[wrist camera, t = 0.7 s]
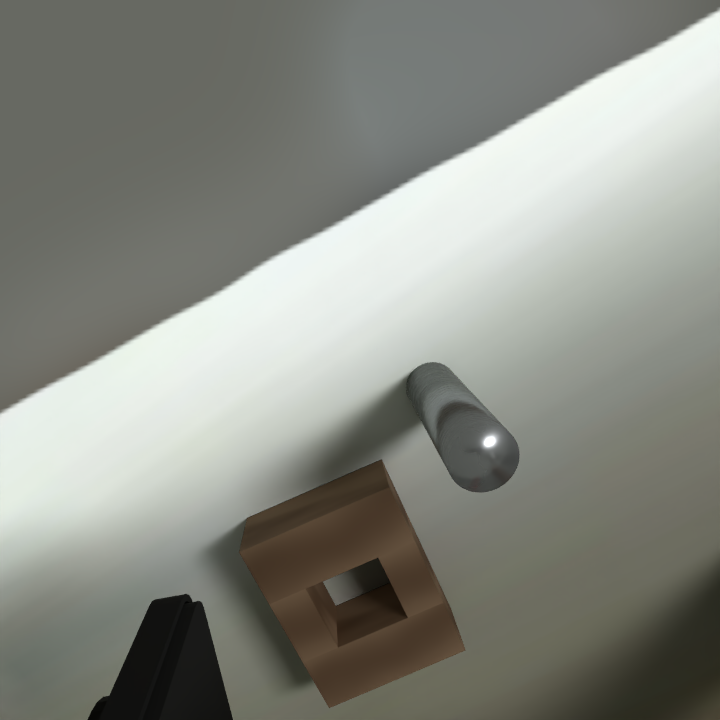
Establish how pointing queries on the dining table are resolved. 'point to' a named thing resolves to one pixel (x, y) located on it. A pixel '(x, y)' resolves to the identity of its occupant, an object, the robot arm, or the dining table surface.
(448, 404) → the peg
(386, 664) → the hole block
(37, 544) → the dining table surface
